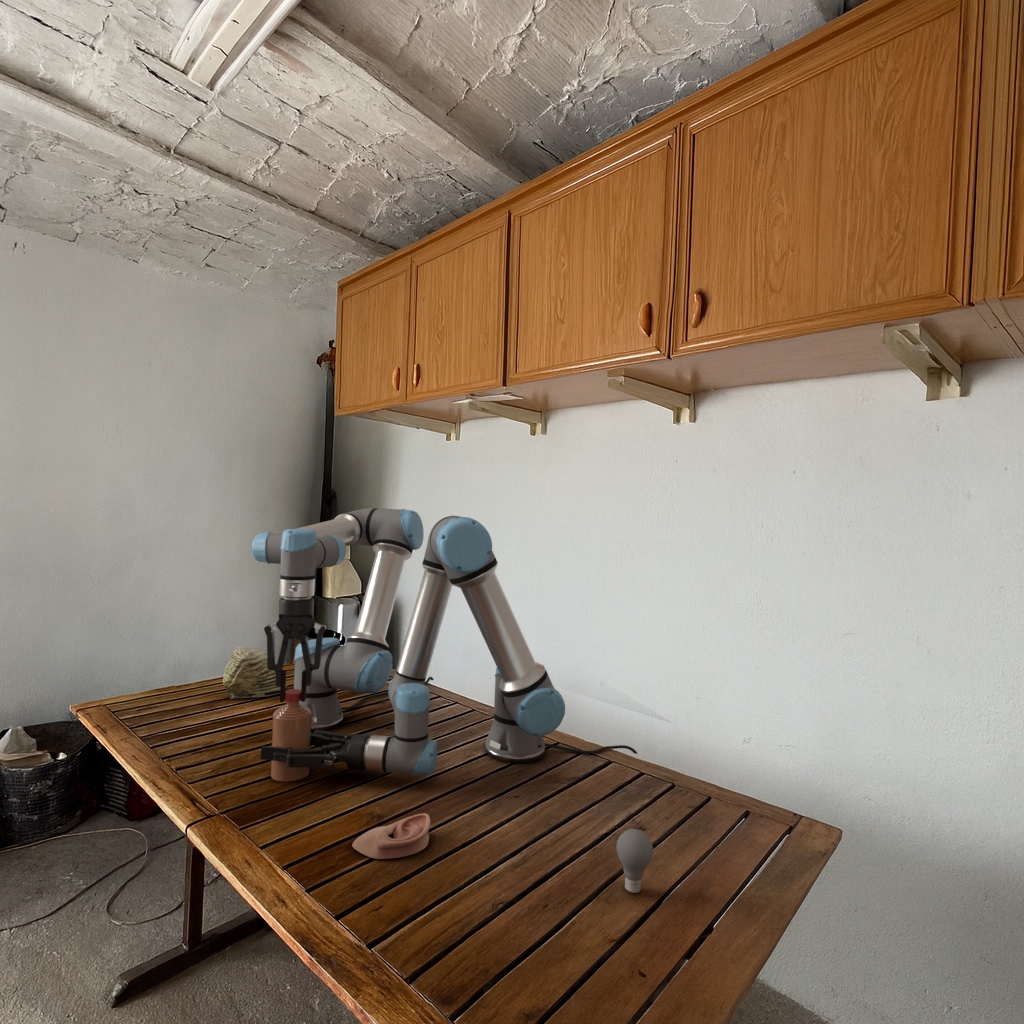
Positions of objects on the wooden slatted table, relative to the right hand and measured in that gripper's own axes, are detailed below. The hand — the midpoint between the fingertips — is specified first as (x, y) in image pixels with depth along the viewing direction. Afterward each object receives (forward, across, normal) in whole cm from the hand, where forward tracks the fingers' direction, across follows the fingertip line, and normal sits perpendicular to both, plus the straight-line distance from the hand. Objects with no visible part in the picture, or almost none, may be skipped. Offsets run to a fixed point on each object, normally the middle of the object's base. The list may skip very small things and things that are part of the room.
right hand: (271, 744), depth 144 cm
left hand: (-5, 0, +11) cm, 12 cm away
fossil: (+30, +51, -6) cm, 60 cm away
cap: (-5, 0, +12) cm, 13 cm away
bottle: (-5, 0, -6) cm, 8 cm away
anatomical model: (-35, -25, -6) cm, 44 cm away
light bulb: (-79, -32, -6) cm, 85 cm away
